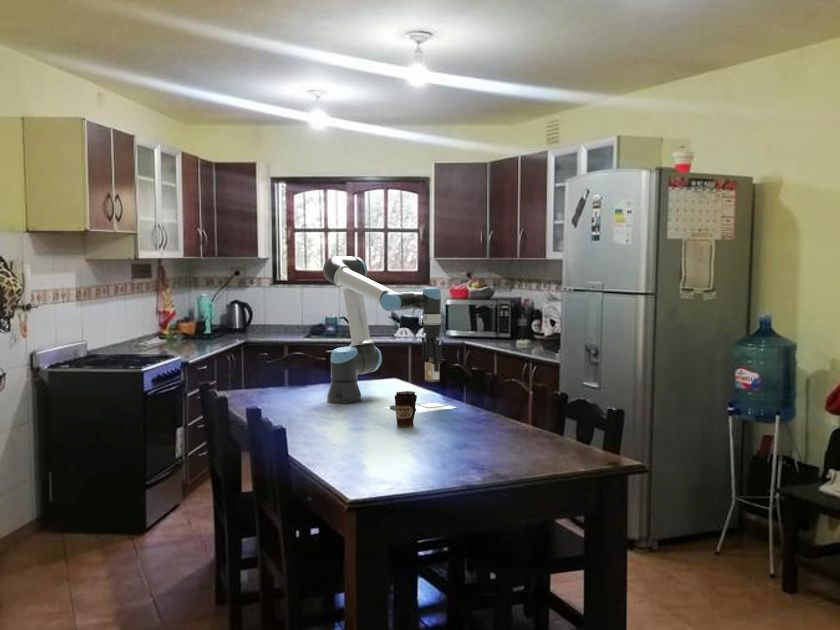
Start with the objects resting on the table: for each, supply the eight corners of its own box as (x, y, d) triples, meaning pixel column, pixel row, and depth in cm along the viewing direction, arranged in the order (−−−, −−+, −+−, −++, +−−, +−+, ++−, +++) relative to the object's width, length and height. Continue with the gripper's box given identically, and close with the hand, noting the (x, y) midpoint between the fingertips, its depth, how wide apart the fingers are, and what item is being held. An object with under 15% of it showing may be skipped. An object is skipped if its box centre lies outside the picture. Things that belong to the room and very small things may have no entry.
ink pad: (389, 408, 319) (389, 405, 319) (404, 407, 322) (404, 403, 322) (401, 412, 310) (401, 409, 310) (416, 411, 314) (416, 407, 314)
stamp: (424, 380, 327) (424, 357, 326) (433, 379, 329) (433, 356, 329) (430, 382, 323) (430, 358, 323) (439, 381, 326) (439, 358, 325)
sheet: (383, 407, 322) (383, 406, 322) (435, 402, 336) (435, 400, 336) (403, 414, 308) (403, 413, 308) (457, 408, 321) (457, 407, 321)
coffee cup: (414, 429, 282) (414, 394, 281) (392, 428, 283) (392, 393, 282) (418, 424, 290) (418, 390, 289) (397, 423, 292) (397, 389, 291)
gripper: (413, 322, 330) (414, 376, 332) (435, 325, 315) (435, 381, 317) (428, 322, 334) (428, 375, 336) (450, 324, 319) (450, 380, 321)
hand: (432, 378), depth 326 cm, fingers closed on stamp, 4 cm apart
